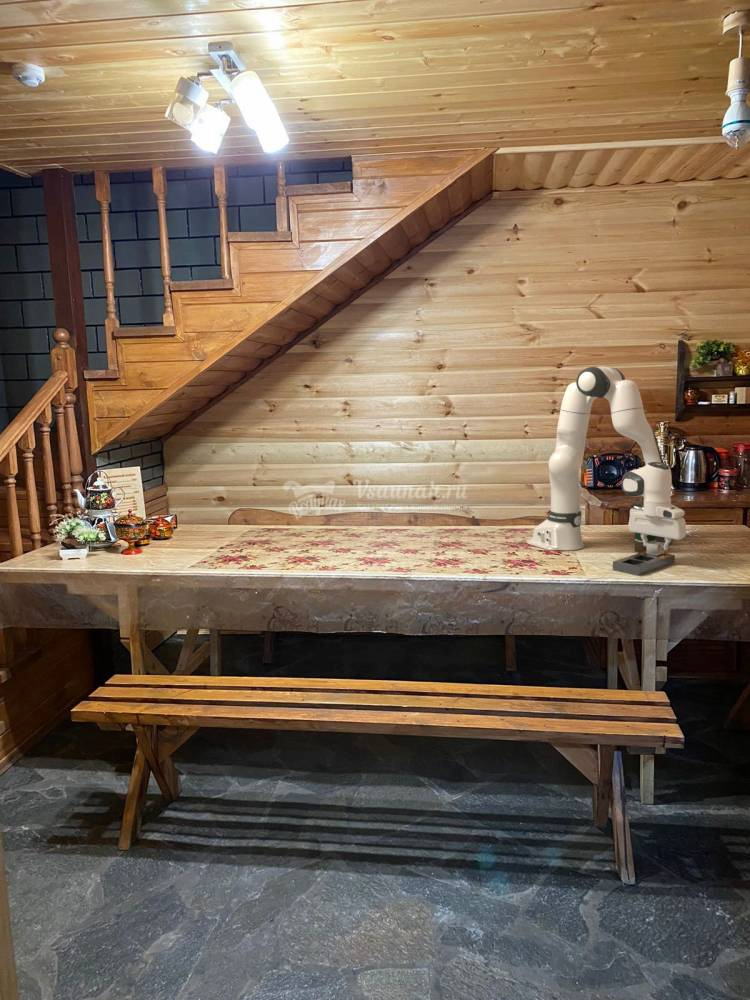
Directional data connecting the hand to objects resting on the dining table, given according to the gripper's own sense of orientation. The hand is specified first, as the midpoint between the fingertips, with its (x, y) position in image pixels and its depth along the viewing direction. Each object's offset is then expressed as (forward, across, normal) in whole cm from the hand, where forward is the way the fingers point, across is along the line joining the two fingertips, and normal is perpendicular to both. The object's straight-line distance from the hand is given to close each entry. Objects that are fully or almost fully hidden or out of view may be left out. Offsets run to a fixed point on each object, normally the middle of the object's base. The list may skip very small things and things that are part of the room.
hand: (655, 547), depth 257 cm
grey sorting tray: (+6, 0, -7) cm, 9 cm away
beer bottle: (+6, -12, +13) cm, 19 cm away
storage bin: (+6, -18, +30) cm, 35 cm away
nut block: (+5, 0, 0) cm, 5 cm away
